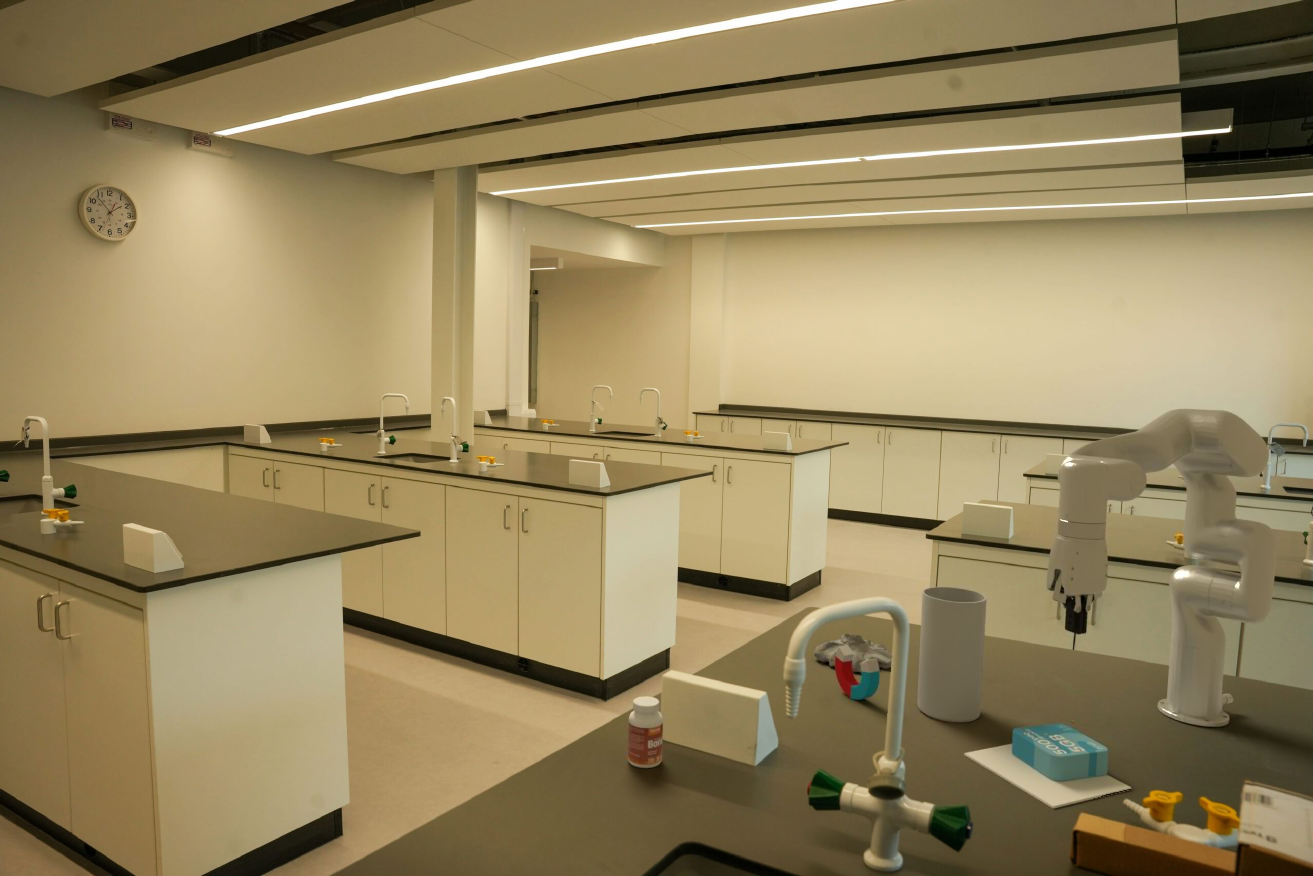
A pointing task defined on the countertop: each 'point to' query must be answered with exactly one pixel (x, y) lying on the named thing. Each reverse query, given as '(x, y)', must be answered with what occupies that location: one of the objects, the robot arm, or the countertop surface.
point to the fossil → (854, 651)
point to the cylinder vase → (951, 653)
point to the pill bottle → (645, 733)
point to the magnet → (847, 678)
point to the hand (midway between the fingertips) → (1075, 631)
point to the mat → (1043, 779)
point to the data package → (1060, 752)
